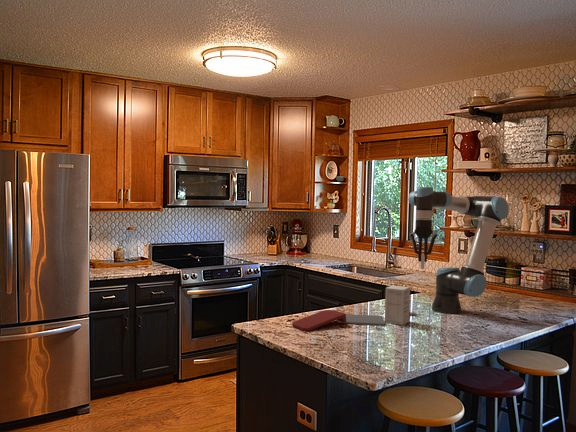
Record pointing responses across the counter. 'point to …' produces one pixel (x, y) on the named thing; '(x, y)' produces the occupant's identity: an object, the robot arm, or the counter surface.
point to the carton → (319, 320)
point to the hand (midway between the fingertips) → (422, 268)
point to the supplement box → (397, 305)
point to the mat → (364, 319)
